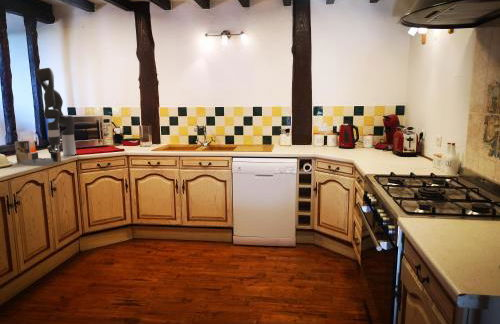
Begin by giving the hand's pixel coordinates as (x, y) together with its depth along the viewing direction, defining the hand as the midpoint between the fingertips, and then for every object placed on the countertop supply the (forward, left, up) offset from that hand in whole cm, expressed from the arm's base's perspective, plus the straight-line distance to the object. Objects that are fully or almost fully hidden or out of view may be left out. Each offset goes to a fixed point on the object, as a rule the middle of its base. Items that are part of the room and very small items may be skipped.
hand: (55, 158), depth 282 cm
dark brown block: (0, 0, -2) cm, 2 cm away
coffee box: (+10, -19, -2) cm, 22 cm away
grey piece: (+12, -4, -2) cm, 13 cm away
